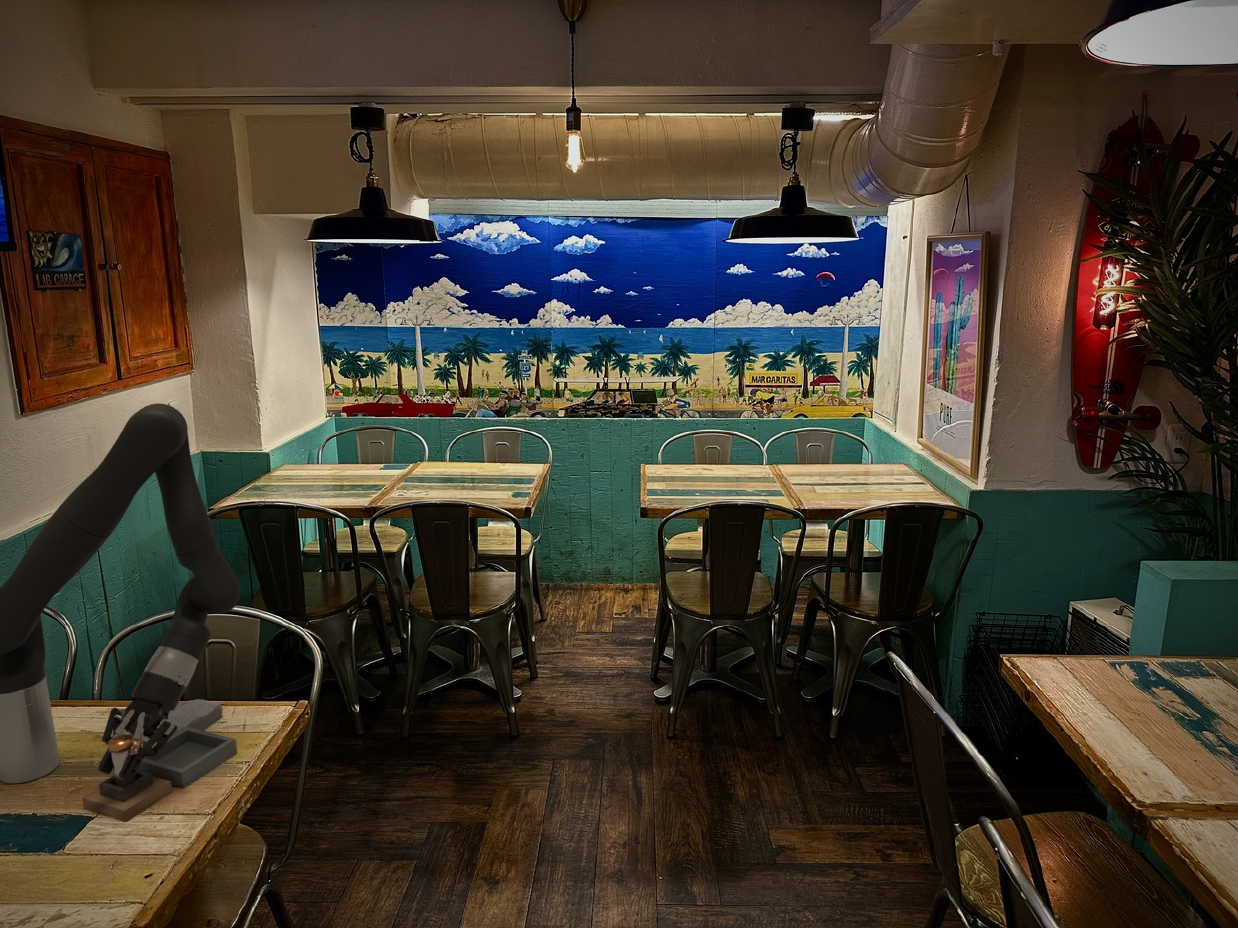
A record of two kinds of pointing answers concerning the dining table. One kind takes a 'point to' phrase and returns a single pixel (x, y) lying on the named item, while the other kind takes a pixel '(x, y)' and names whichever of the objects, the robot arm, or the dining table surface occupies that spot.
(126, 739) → the pin
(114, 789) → the bracket
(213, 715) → the stone block
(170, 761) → the tray
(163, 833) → the dining table surface
